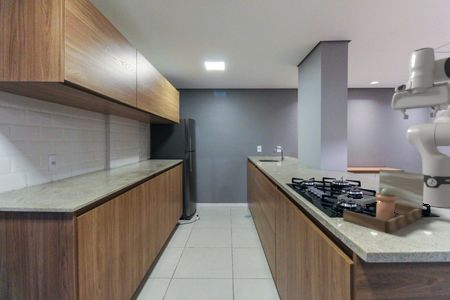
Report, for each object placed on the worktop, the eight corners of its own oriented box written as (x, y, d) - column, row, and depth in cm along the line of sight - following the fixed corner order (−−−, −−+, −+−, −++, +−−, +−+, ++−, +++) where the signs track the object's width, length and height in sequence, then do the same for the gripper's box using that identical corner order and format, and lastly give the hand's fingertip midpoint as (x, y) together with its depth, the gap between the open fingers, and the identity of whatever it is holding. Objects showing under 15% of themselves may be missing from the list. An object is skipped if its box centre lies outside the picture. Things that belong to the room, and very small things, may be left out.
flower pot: (380, 216, 105) (380, 185, 104) (398, 220, 99) (399, 188, 98) (371, 219, 101) (372, 187, 100) (390, 224, 95) (391, 191, 94)
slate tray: (351, 197, 136) (351, 192, 136) (377, 202, 126) (377, 197, 125) (337, 200, 129) (337, 195, 129) (363, 206, 118) (363, 201, 118)
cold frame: (379, 208, 116) (380, 169, 114) (422, 217, 102) (424, 173, 101) (343, 220, 100) (344, 175, 99) (388, 233, 86) (390, 181, 85)
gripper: (454, 83, 101) (453, 117, 100) (396, 91, 117) (394, 121, 117) (450, 79, 97) (449, 114, 96) (390, 88, 113) (389, 118, 113)
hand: (418, 118), depth 107 cm, fingers open, 8 cm apart
